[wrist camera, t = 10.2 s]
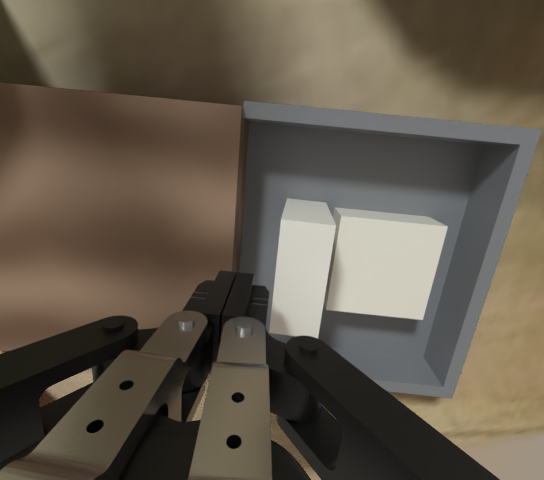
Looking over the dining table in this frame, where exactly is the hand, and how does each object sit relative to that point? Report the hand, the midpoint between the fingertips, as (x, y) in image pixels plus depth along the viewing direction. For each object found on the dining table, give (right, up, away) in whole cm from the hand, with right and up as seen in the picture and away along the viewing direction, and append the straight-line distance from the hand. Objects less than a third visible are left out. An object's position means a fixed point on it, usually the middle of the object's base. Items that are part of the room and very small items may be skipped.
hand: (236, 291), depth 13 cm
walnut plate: (-10, +3, +8) cm, 14 cm away
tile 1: (+2, +1, +4) cm, 5 cm away
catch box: (+6, +2, +8) cm, 10 cm away
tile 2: (+8, 0, +5) cm, 9 cm away
